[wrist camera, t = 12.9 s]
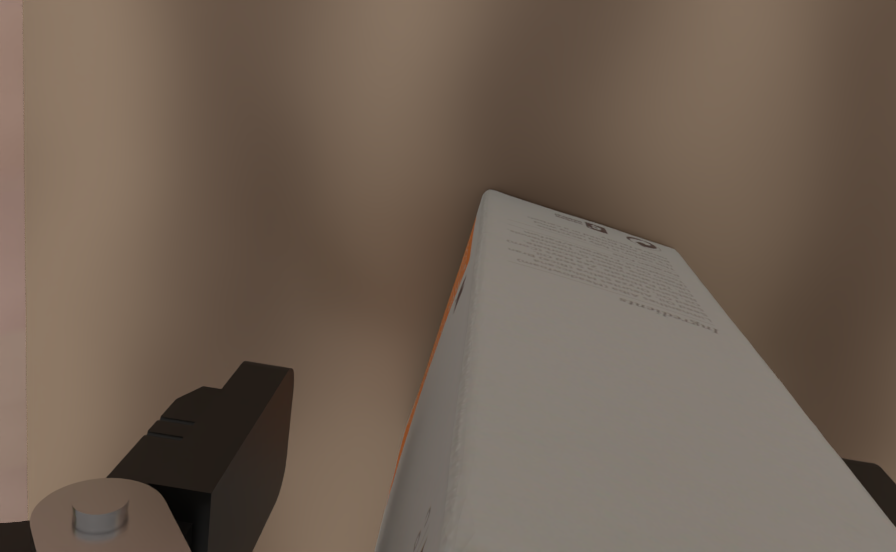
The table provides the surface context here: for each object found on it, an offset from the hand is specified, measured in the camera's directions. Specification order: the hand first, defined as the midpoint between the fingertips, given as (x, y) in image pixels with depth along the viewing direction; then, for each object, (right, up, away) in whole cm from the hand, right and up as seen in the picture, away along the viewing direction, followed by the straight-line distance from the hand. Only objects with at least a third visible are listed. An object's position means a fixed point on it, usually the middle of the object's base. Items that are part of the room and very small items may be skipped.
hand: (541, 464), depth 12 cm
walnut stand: (0, +3, +9) cm, 9 cm away
